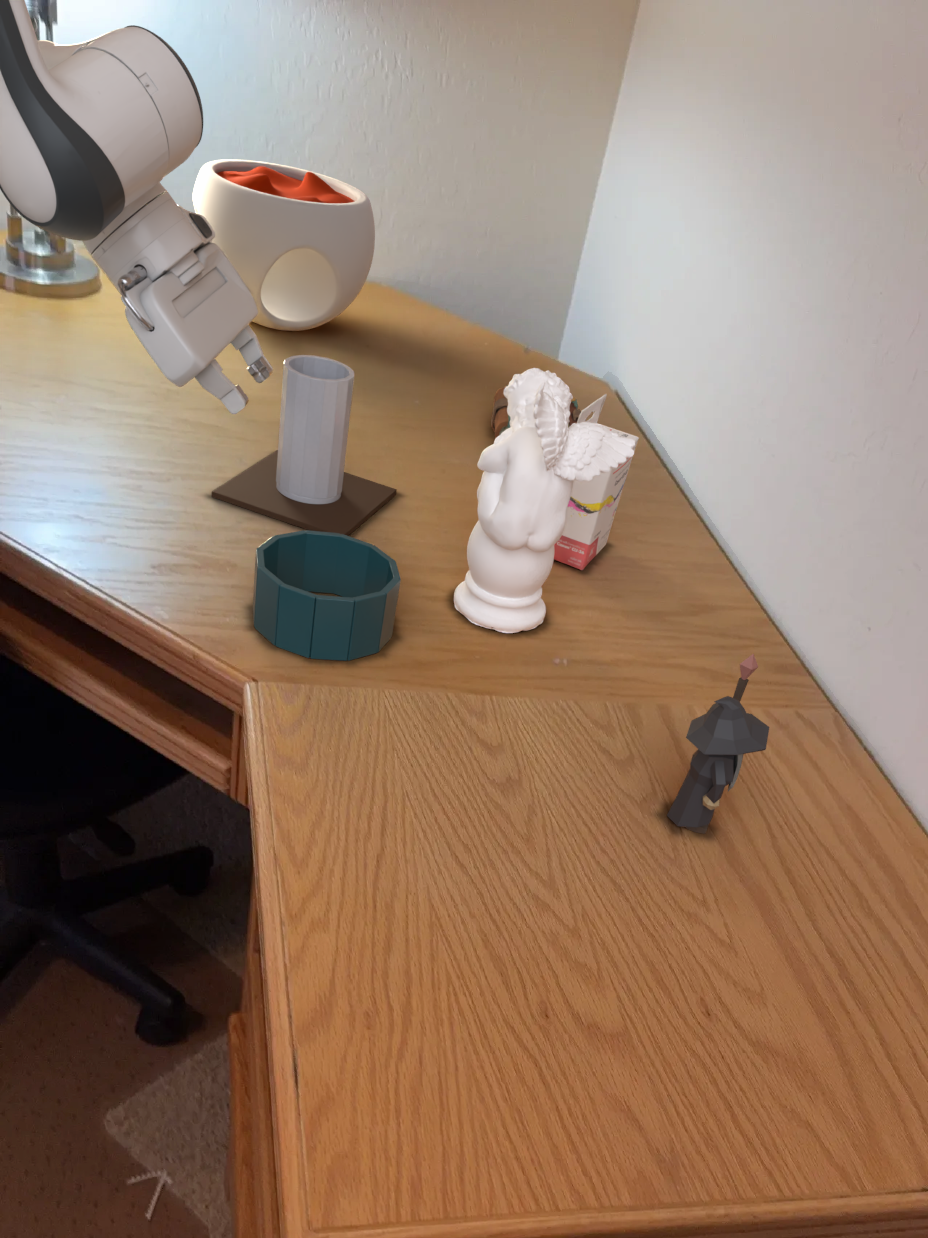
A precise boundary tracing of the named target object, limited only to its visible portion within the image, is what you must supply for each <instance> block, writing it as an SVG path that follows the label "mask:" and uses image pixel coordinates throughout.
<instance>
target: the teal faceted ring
mask: <svg viewBox="0 0 928 1238" xmlns="http://www.w3.org/2000/svg"><path fill="white" fill-rule="evenodd" d="M253 579H254V580H253V594H252V618H253V620H252V621H253V627H254V629H255V630H256V631H257V632H258V633H260V635H261V636H263V637H264V638H265V639H266V640H267V641H268V642H269V643H271V644H272V645H273V646H275V647H276V648H279V649H281V650H283V651H287V652H289V653H293V654H295V655H298V656H301V657H304V658H307V659H310V660H311V659H312V660H325V661H327V660H328V661H339V662H340V661H342V662H349V661H353V660H357V659H361V658H364V657H367V656H371V655H374V654H377V653H380V651H382V649H384V647H385V645H387V644H388V643H389V642H390V640H391V639H392V637H393V634H394V626H395V619H396V612H397V607H398V600H399V593H400V587H401V581H402V578H401V575H400V571H399V568H398V564H397V561H396V560H395V559H394V558H392V557H391V556H390V555H388V554H387V553H386V552H384V551H383V550H382V549H380V548H379V547H378V546H376V545H375V544H373V543H370V542H367V541H364V540H361V539H358V538H355V537H353V536H350V535H349V536H347V535H344V534H341V535H340V533H330V532H320V531H310V530H307V529H304V530H298V531H297V530H296V531H292V532H286V533H280V534H275V535H272V536H271V537H269V538H268V539H267V540H266V541H264V542H263V543H262V544H260V545H259V546H257V547H256V548H255V559H254V577H253ZM316 593H321V594H316ZM323 593H324V595H323ZM325 594H333V595H325ZM335 595H336V596H335Z"/></svg>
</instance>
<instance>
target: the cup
mask: <svg viewBox="0 0 928 1238" xmlns="http://www.w3.org/2000/svg"><path fill="white" fill-rule="evenodd" d="M282 369H283V370H282V381H281V382H282V383H281V399H280V412H279V414H280V415H279V428H278V430H279V431H278V442H277V443H278V444H277V450H278V458H277V473H276V487H277V489H278V491H279V492H280V493H281V494H283V495H284V496H286V497H288V498H290V499H292V500H295V501H298V502H303V503H308V504H328V503H332V502H335V501H337V500H338V499H339V498H340V497H341V494H342V485H343V476H344V472H345V467H346V456H347V447H348V438H349V428H350V422H351V421H350V419H351V410H352V400H353V394H354V393H353V391H354V383H355V371H354V370H353V368H351V367H350V366H349V365H347V364H345V363H343V362H341V361H338V360H335V359H333V358H329V357H324V356H319V355H313V354H312V355H311V354H298V355H292V356H289V357H286V358H285V359H284V361H283V368H282Z"/></svg>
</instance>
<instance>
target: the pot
mask: <svg viewBox="0 0 928 1238" xmlns="http://www.w3.org/2000/svg"><path fill="white" fill-rule="evenodd" d="M192 202H193V203H192V204H193V209H194V213H197V214H200V215H202V216H203V217H204V218H205V219H206V220H207V221H208V223H209V224H210V225H211V227H212V228H213V230H214V232H215V237H214V238H213V239H212V240H211V241H210V242H213V243H215V244H217V245H218V246H219V247H220V248H221V249H222V250H223V252H224V253H225V254H226V256H227V257H228V259H229V260H230V262H231V263H232V265H233V266H234V268H235V269H236V271H237V272H238V274H239V275H240V277H241V278H242V280H243V282H244V283H245V285H246V286H247V288H248V290H249V291H250V293H251V294H252V296H253V298H254V301H255V303H256V306H257V309H258V315H257V316H256V317H255V318H254V319H253V320H252V321H251V322H253V323H255V324H257V325H260V326H262V327H266V328H269V329H272V330H278V331H285V332H287V331H288V332H300V331H307V330H310V329H315V328H318V327H321V326H323V325H325V324H327V323H329V322H331V321H333V320H334V319H335V318H337V317H338V316H340V315H341V314H342V313H343V312H345V311H346V310H347V309H348V308H349V306H350V305H352V304H353V302H354V301H355V299H356V298H357V297H358V295H359V294H360V292H361V291H362V289H363V287H364V286H365V283H366V281H367V278H368V276H369V273H370V270H371V267H372V264H373V259H374V253H375V245H376V228H375V217H374V212H373V208H372V202H371V201H370V197H369V196H368V195H367V194H366V193H365V192H363V191H362V190H360V189H359V188H357V187H355V186H354V185H351V184H350V183H347V182H344V181H342V180H340V179H337V178H335V177H331V176H328V175H325V174H322V173H319V172H315V171H312V170H308V169H304V168H299V167H295V166H291V165H285V164H279V163H274V162H268V161H267V162H266V161H259V160H250V159H233V158H232V159H229V158H228V159H216V160H211V161H208V162H206V163H204V164H203V165H202V166H201V168H200V169H199V171H198V174H197V176H196V180H195V183H194V186H193V191H192Z"/></svg>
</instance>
